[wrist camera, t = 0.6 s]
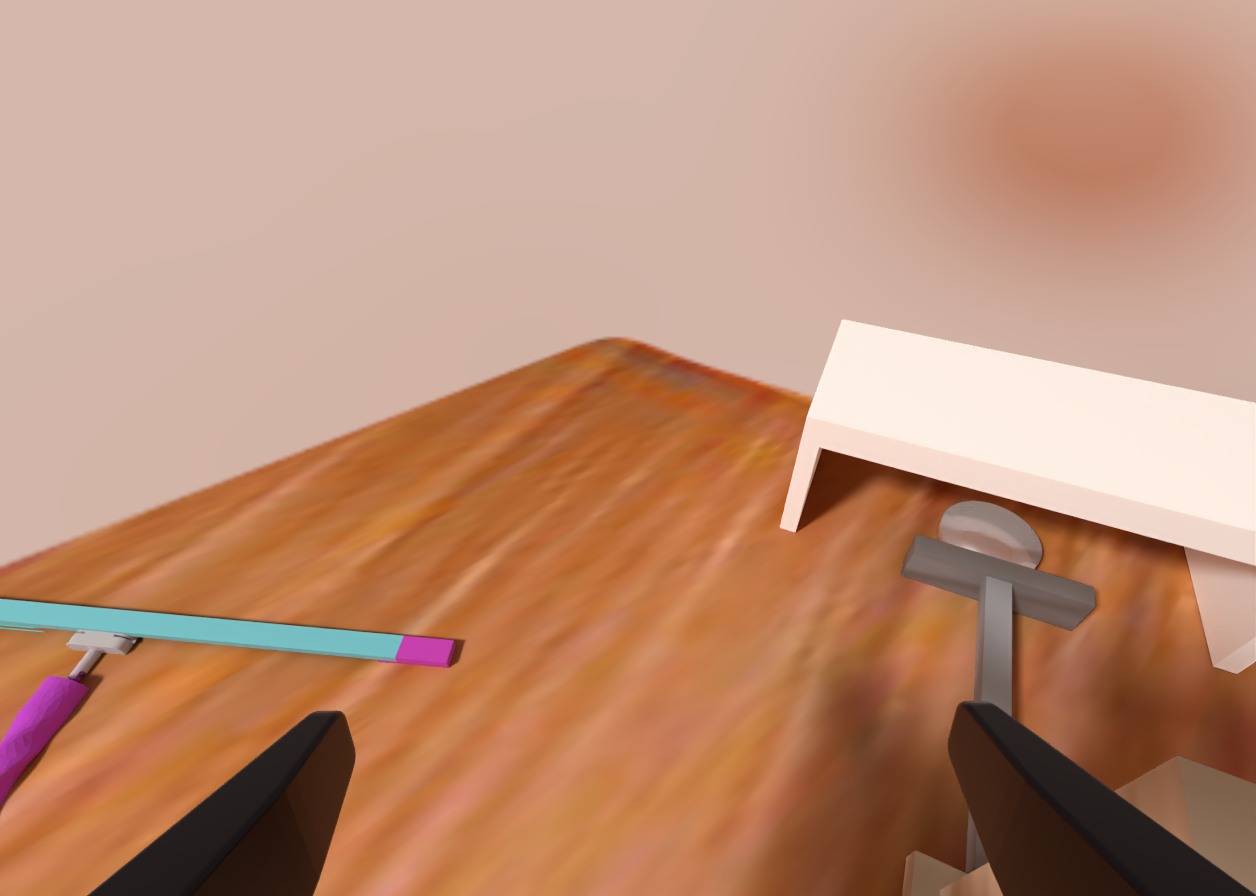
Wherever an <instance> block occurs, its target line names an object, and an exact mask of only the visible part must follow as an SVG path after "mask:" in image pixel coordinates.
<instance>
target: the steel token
mask: <svg viewBox="0 0 1256 896" xmlns="http://www.w3.org/2000/svg"><path fill="white" fill-rule="evenodd" d="M937 539H938V540H939V541H942V542H946V543H949V544H952V545H956V546H959V547H962V548H966V549H969V550H972V551H976V552H979V553H982V554H986V555H989V556H992V557H996V558H999V559H1002V560H1006V561H1009V562H1012V563H1015V564H1019V565H1022V566H1025V567H1029V568H1032V569H1035V568H1036V566H1037V565H1038V564H1039V562H1040V560H1041V557H1042V546H1041V543H1040V540H1039V538H1038V536H1037V534H1036V533H1035V531H1034V530H1033V529H1032V528H1031V527H1030V526H1029V525H1028V524H1027V523H1026V522H1025V521H1024V520H1023V519H1022V518H1020V517H1019V516H1017V515H1016V514H1014V513H1013V512H1011V511H1009V510H1007V509H1005V508H1003V507H1000V506H998V505H995V504H992V503H987V502H982V501H965V502H960V503H957V504H955V505H953V506H951V507H950V508H948V509H947V510H946V512H945V513H944V515H943V517H942V518H941V520H940V522H939V524H938V527H937Z"/></svg>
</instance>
